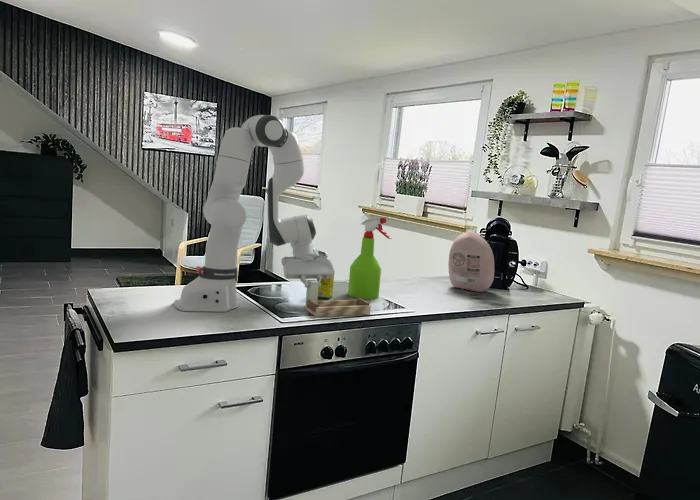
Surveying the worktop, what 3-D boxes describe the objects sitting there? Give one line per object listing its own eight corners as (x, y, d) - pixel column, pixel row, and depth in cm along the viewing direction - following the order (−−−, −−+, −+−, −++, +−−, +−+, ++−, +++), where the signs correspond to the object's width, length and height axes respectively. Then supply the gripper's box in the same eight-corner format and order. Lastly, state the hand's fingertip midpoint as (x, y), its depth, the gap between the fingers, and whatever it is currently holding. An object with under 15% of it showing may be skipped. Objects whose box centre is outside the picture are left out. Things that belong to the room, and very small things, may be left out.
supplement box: (329, 299, 214) (331, 273, 212) (315, 297, 215) (317, 271, 213) (332, 297, 219) (334, 271, 218) (318, 295, 221) (321, 269, 219)
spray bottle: (377, 302, 216) (385, 218, 212) (341, 294, 226) (348, 214, 222) (393, 298, 228) (401, 218, 223) (358, 290, 238) (365, 214, 233)
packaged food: (495, 291, 266) (502, 233, 262) (483, 296, 249) (491, 234, 245) (454, 284, 277) (461, 228, 273) (440, 288, 260) (447, 229, 257)
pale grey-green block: (309, 308, 197) (311, 282, 196) (305, 305, 200) (307, 279, 199) (316, 307, 198) (318, 282, 197) (312, 305, 202) (314, 279, 200)
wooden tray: (316, 316, 185) (317, 305, 185) (305, 309, 194) (306, 298, 193) (369, 314, 196) (370, 303, 195) (357, 307, 204) (358, 297, 204)
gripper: (282, 252, 198) (290, 282, 191) (331, 252, 208) (340, 281, 200) (278, 261, 202) (285, 291, 195) (325, 262, 212) (333, 290, 205)
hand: (313, 286), depth 198 cm, fingers closed on pale grey-green block, 3 cm apart
